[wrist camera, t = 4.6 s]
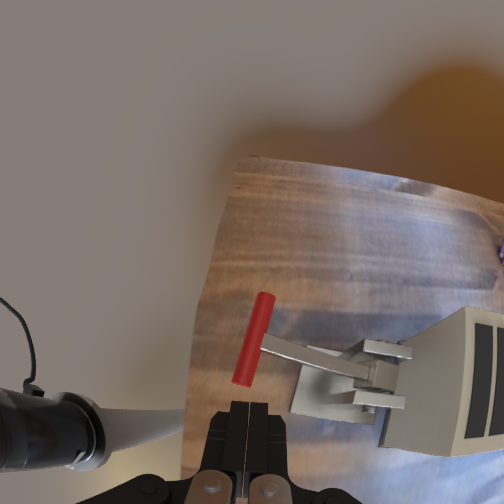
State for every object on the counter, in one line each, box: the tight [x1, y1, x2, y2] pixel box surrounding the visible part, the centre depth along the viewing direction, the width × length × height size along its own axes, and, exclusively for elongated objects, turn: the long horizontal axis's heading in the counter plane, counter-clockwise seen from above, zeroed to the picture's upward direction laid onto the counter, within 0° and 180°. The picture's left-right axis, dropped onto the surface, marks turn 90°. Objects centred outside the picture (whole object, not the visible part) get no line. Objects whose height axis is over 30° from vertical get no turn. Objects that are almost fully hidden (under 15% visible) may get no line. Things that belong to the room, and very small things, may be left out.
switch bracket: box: [289, 338, 413, 425], centre depth 24 cm, size 10×8×13 cm
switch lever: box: [232, 292, 399, 392], centre depth 19 cm, size 13×6×2 cm, turn 74°
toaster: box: [378, 306, 504, 457], centre depth 22 cm, size 9×14×14 cm, turn 164°
